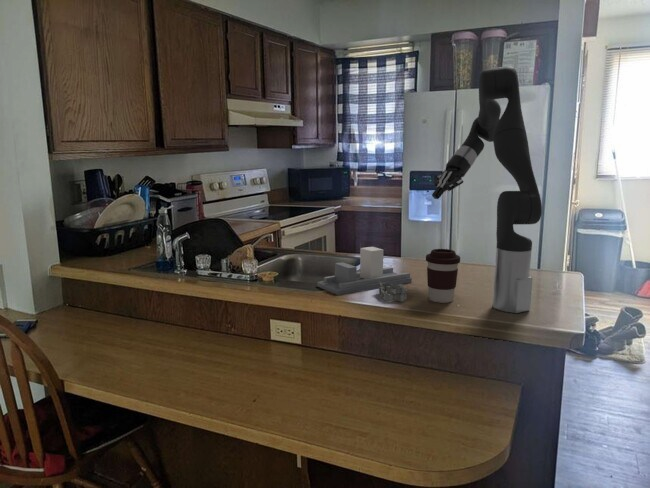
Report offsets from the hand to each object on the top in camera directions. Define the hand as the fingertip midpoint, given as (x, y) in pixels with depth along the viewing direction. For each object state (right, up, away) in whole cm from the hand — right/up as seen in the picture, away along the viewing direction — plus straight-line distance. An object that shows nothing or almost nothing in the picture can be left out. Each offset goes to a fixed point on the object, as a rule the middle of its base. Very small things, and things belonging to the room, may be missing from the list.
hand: (434, 197), depth 177 cm
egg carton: (-17, -33, -22) cm, 43 cm away
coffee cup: (-3, -33, -25) cm, 41 cm away
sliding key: (-23, -28, -7) cm, 36 cm away
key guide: (-25, -30, -8) cm, 39 cm away
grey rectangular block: (-31, -29, -12) cm, 44 cm away
